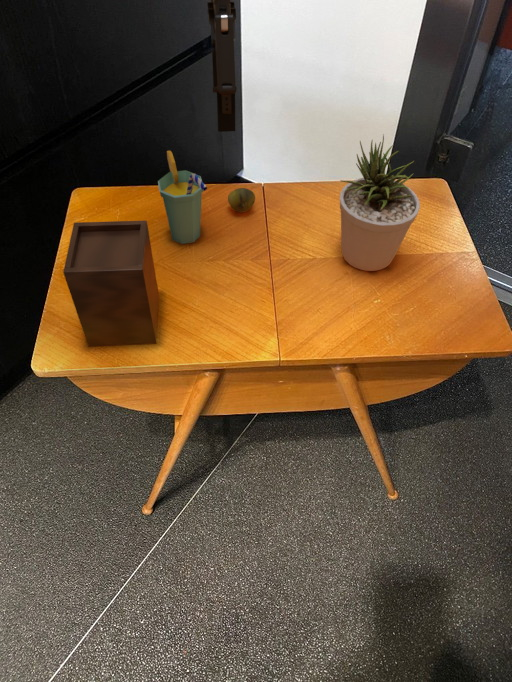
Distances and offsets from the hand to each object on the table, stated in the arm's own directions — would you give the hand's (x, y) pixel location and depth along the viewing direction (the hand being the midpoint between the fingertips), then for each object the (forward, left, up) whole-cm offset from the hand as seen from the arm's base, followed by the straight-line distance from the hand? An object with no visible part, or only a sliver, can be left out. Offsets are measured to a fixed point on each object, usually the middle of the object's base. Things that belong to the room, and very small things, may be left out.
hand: (223, 109), depth 90 cm
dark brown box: (-27, -22, -18) cm, 39 cm away
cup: (-11, -7, -18) cm, 22 cm away
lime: (+1, -4, -18) cm, 19 cm away
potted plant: (+16, -24, -18) cm, 34 cm away
